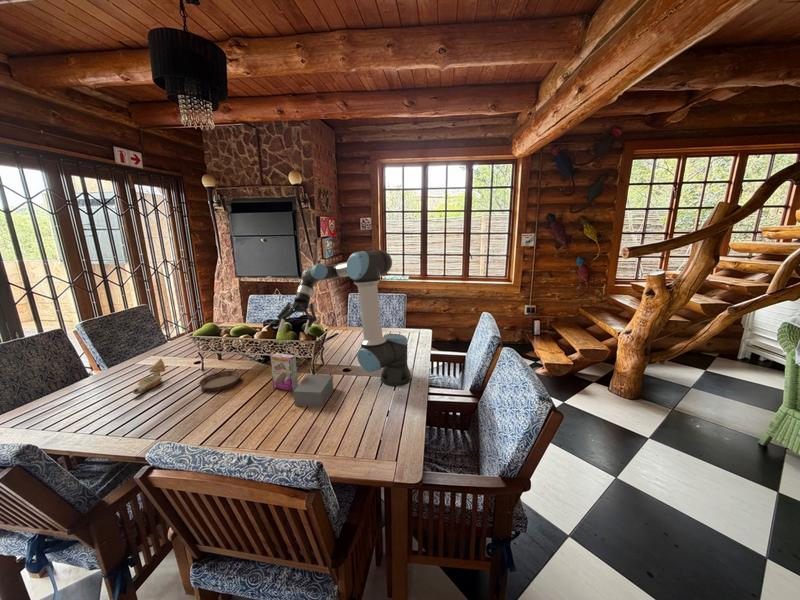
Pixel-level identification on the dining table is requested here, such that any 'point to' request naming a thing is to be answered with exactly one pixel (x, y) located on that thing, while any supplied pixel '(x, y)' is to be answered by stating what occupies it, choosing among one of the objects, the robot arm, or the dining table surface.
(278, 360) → the candy bar box
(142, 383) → the oil lamp
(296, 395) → the charcoal block
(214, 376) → the plant saucer
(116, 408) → the dining table surface
